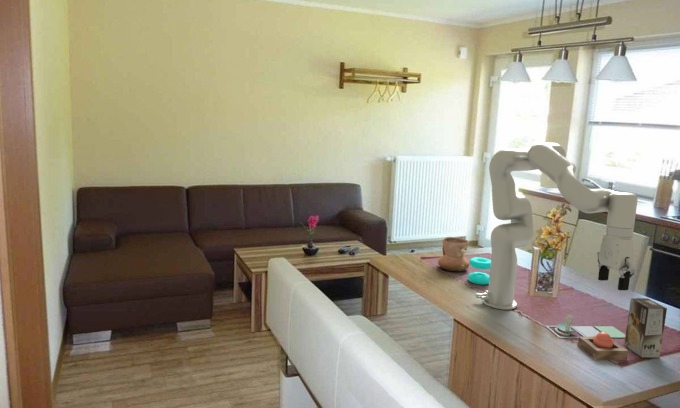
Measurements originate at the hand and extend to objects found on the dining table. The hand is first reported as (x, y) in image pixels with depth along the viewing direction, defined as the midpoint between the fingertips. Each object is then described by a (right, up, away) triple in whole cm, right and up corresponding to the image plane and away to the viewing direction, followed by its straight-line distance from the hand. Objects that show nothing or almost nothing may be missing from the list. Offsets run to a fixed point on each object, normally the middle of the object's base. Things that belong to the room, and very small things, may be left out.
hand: (612, 284), depth 163 cm
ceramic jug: (-33, -5, +81) cm, 88 cm away
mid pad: (-1, -18, +13) cm, 23 cm away
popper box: (-4, -21, -2) cm, 21 cm away
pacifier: (-10, -18, +12) cm, 24 cm away
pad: (+7, -19, +14) cm, 24 cm away
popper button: (-4, -19, -2) cm, 19 cm away
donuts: (-25, -9, +63) cm, 69 cm away
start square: (-9, -18, +12) cm, 24 cm away
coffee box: (+9, -21, +1) cm, 23 cm away
